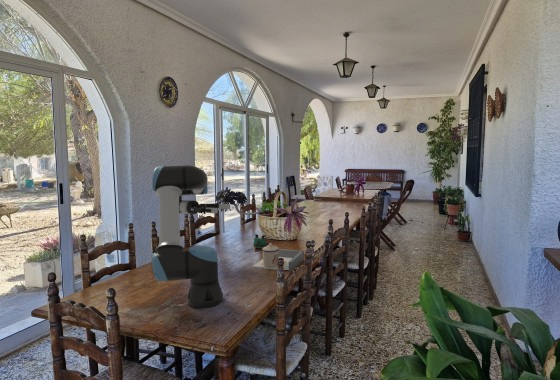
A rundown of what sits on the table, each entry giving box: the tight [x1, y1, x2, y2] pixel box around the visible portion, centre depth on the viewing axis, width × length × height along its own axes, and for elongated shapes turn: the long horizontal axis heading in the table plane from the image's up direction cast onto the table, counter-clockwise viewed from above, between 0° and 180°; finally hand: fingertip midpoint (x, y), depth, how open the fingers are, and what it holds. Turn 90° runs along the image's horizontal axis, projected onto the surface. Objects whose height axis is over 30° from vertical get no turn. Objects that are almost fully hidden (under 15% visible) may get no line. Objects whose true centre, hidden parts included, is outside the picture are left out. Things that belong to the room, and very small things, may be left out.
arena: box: [252, 248, 305, 272], centre depth 212 cm, size 22×22×5 cm
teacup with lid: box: [262, 242, 280, 267], centre depth 208 cm, size 12×9×12 cm
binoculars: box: [253, 233, 270, 253], centre depth 239 cm, size 9×11×10 cm
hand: (223, 208), depth 206 cm, fingers open, 13 cm apart
